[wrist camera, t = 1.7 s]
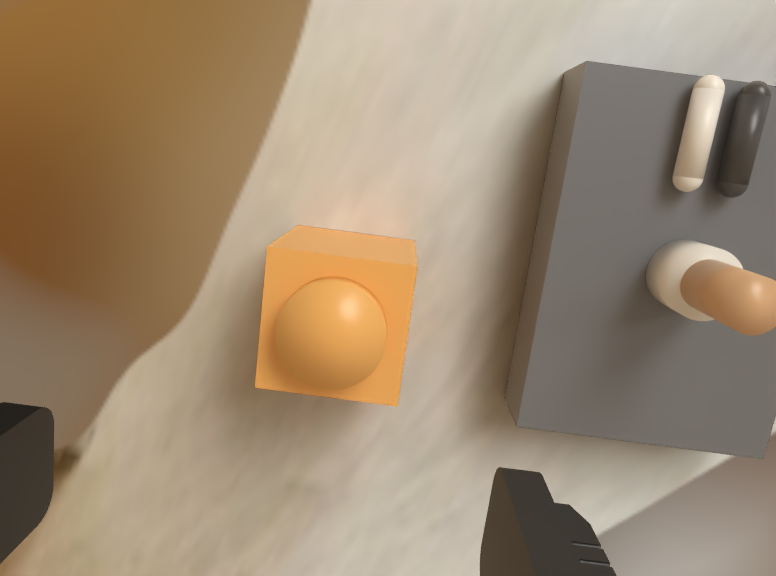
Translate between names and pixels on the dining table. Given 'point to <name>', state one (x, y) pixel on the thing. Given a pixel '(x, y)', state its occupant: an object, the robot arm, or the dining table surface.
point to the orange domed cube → (336, 314)
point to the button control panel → (654, 265)
